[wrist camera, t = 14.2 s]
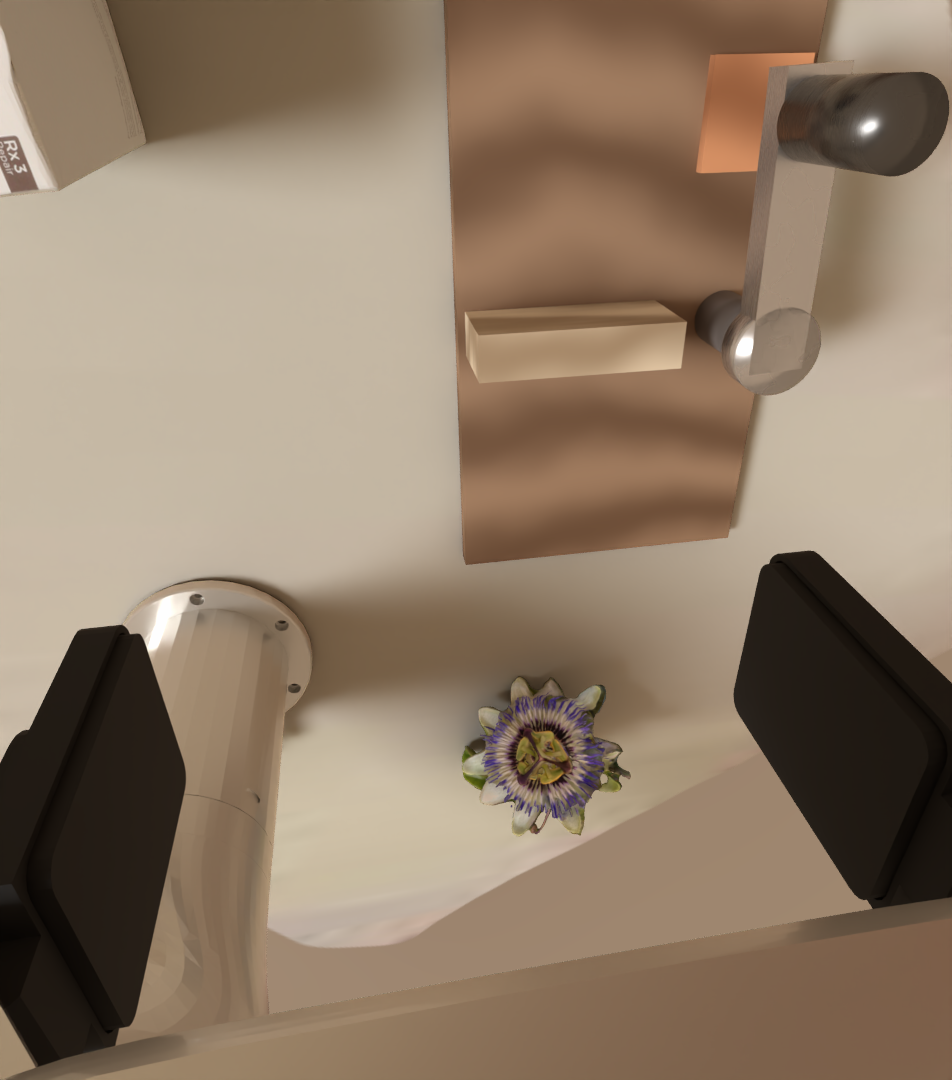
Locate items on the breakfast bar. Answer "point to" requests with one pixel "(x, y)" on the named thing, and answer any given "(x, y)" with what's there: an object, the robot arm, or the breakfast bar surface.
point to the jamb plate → (604, 261)
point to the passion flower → (543, 755)
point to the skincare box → (61, 94)
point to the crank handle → (816, 199)
